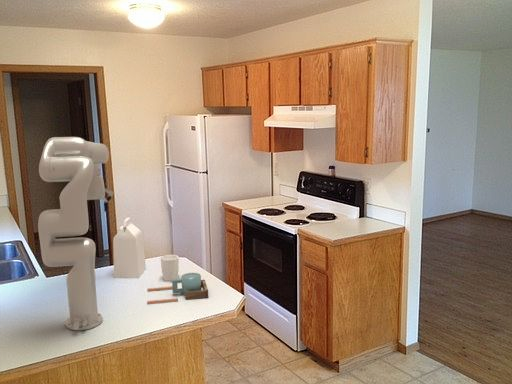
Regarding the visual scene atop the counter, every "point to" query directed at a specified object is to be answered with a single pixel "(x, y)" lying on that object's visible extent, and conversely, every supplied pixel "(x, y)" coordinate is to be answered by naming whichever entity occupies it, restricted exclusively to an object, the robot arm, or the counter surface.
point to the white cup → (169, 267)
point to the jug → (187, 283)
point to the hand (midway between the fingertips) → (94, 211)
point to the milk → (128, 252)
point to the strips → (162, 299)
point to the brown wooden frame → (198, 292)
